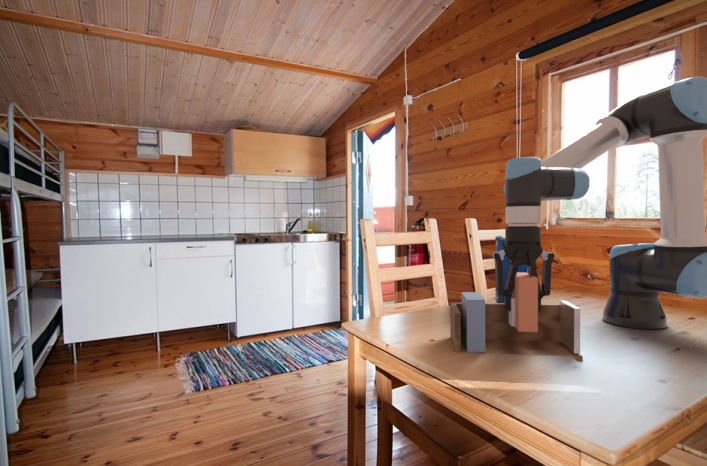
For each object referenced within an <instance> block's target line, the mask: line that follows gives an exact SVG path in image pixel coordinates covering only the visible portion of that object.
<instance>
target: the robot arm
mask: <svg viewBox="0 0 707 466" xmlns="http://www.w3.org/2000/svg"><path fill="white" fill-rule="evenodd" d="M645 137H646V138H647V137H650V142H652V143H654V144H655V145H656V146H657V151H658V153H657V154H658V155H657V156H658V158H657V159H658V181H659V182H658V187H659V190H658V191H659V192H658V193H659V211H660V212H659V217H660V218H659V220H660V238H659V239H657V240H656V241H655V242H652V243H651V242H649V243H633V244H631V243H628V244H618V245H614V246H612V247H611V249H610V252H609V260H608V261H609V296H608V299H607V300H606V303H605V306H604V308H603V311H602V320H603V321H604V322H607V323H609V324H613V325H615V326H620V327H623V328H624V327H626V328H632V329H633V328H634V329H642V330H662V329H665V328H667V327H668V326H667V325H668V324H667V323H668V318H667V316H666V313H665V310H664V308H663V305H662V302H661V300H660V293H666V294H671V295H676V296H680V297H684V298H693V299H694V298H695V299H707V237H706V225H705V222H706V221H705V219H706V218H705V188H704V187H705V186H704V185H705V184H704V183H705V182H704V150H703V149H704V148H703V147H704V146H703V145H704V143H703V141H704V139H705V138H706V137H707V77H704V76H693V77H692V76H691V77H689V78H685V79H680V80H676V81H674V82H672V83H670V84H667V85H664V86H661V87H659V88H655V89H653V90H650V91H647V92H643V93H641V94H638V95H636V96H634V97H632V98H630V99H628V100H627V101H625V102H624V103H622V104H620V105H619V106H617V107H616V108H615V109H612V110H611V111H610V112H609V113H606V114H605V115H604V116H602V117H601V118H600V119H598V120H597V122H595V126H594V127H592V128H591V129H589V130H588V131H586V132H585V133H583V134H582V135H580V136H578V137H577V138H575V139H574V140H572V141H571V142H569V143H567V144H566V145H565V146H563V147H562V148H561V147H560V149H558V150H557V151H556V152H554V153H552V154H550V155H549V156H547V157H546V158H545V159H543V160H541V158H539V157H538V156H537V157H536V156H522V157H514V158H510V159H509V160H508V161H507V162H506V164H505V174H504V175H505V176H504V185H503V194H504V196H505V200H504V201H505V215H504V217H505V221H504V222H505V224H507V226H505V229H504V230H505V231H504V232H505V233H504V234H505V235H504V236H505V246H504V248H503V250H501V251H499V252H495V251H494V252H492V253H491V255H492V256H491V257H492V258H493V260H494V270H495V272H494V273H495V274H494V275H495V293H496V292H497V293H498V294H499V295H502V296H504V308H505V310H506V311H509V324H510V325H511V326H515V298H514V297H512V292H513V288H514V283H515V276H516V274H517V270H518V268H519V266H520V265H526V266H527V273H528V274H529V275H531V276H534V277H536V278H538V312H540V311H541V304H542V299H543V298H544V297H549V296H550V295H551V289H552V288H551V286H552V284H551V283H552V265H553V261H554V259H555V257H556V255H555V253H553V252H550V251H546V250H544V248H543V247H542V244H541V239H542V236H541V232H542V231H541V230H542V229H541V228H542V227H541V226H539V224H541V222H542V218H541V217H542V216H541V215H542V214H541V212H542V211H541V209H542V208H541V205H542V202H545V201H546V202H547V201H558V200H563V201H565V200H566V201H572V200H579V199H582V198H583V197H584V196H586V194H588V191H589V188H590V177H589V174H588V172H587V171H585V169H583V168H584V167H586V166H587V165H588V164H590V163H591V162H593V161H594V160H596V159H598V158H599V157H600V156H602V155H603V154H605V153H606V152H609V150H611V149H612V148H613V149H614V148H617V149H618V148H621V147H622V146H624V145H625V144H627V143H629V142H631V141H635V140H638V139H641V138H645ZM504 255H506V256H507V257H508V259H509V260H510V265H509V272H508V277H507V281H506V286H505V290H504V288H503V264H502V260H503V259H504ZM539 257H541V260H542V263H541V264H542V266H541V286H540V282H539V274H538V270H537V263H536V261H538V259H539Z"/></svg>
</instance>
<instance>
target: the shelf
mask: <svg viewBox="0 0 707 466" xmlns="http://www.w3.org/2000/svg"><path fill="white" fill-rule="evenodd" d="M449 311H450V312H449V313H450V316H449V317H450V321H449V322H450V328H449V331H450V334H449V335H450V340H451V343H452V346H453V350H454V353H471V354H472V353H473V354H474V353H476V354H499V355H500V354H501V355H530V356H531V355H532V356H534V355H535V356H555V357H556V356H557V357H559V356H561V357H564V356H565V357H572V358H573V359H574V361H578V362H579V361H582V362H583V361H584V360H583V359H584V356H583V355H582V354H581V353H580V354H579V353H573V352H572V351H571V350H570V349H568V348H567V347H566V346H565V345H564V344H562V343H561V342H560V303H541V311H540V312H538V332H520V331H518V330H517V329H516V328H515V327H514V326H511V325H510V324H509V311H506V310H505V308H504V303H497V302H485V352H467V350H466V348H465V345H464V343H463V340H462V302H453V301H451V302H449Z"/></svg>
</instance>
